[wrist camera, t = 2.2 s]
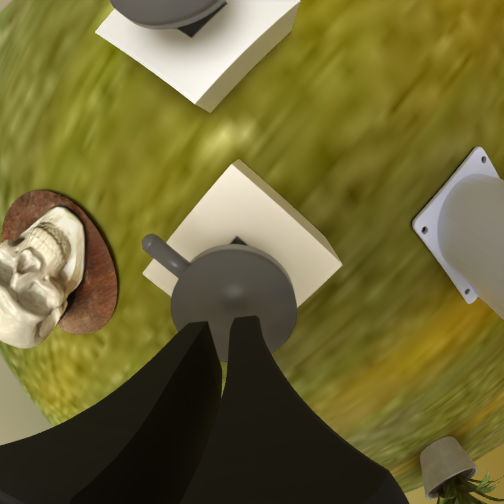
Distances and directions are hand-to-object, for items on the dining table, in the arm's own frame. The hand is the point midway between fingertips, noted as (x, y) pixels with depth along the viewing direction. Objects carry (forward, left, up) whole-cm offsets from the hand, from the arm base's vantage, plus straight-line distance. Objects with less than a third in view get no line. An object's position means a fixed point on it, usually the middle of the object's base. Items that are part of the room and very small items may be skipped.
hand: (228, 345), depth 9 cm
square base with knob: (+10, -8, -10) cm, 16 cm away
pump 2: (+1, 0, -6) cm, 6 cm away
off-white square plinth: (0, 0, -10) cm, 10 cm away
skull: (+10, +11, -11) cm, 18 cm away
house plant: (-36, +3, -11) cm, 38 cm away
